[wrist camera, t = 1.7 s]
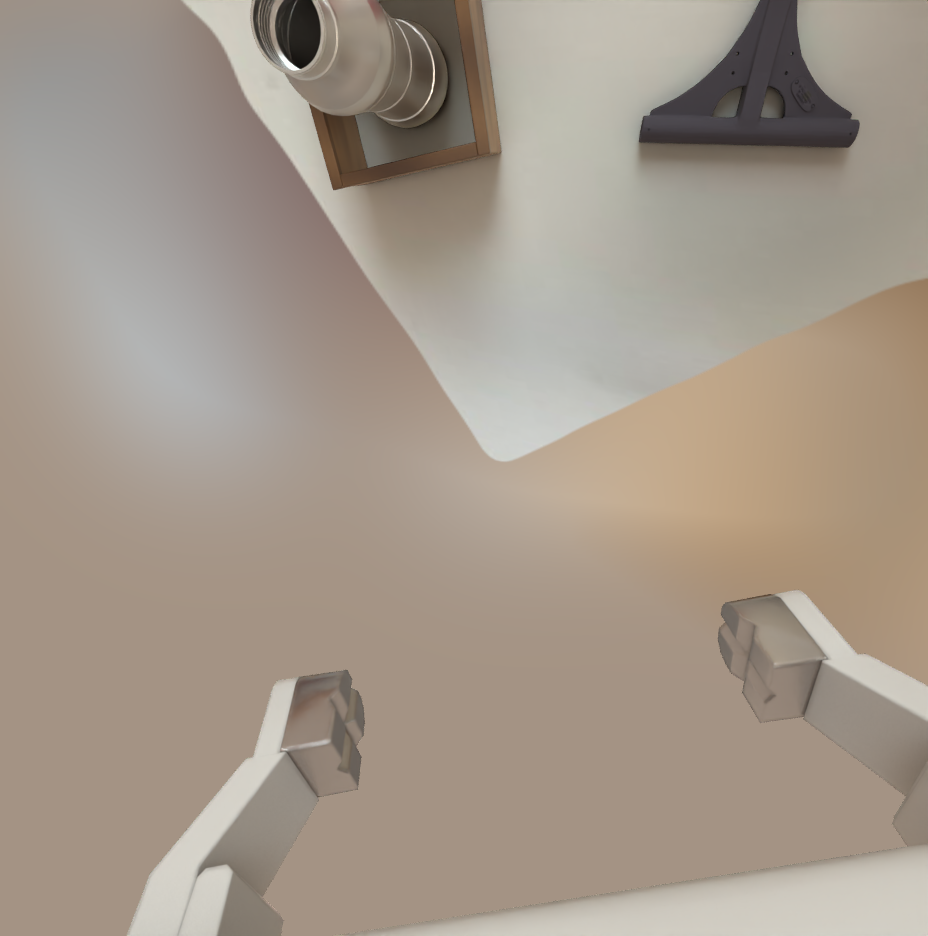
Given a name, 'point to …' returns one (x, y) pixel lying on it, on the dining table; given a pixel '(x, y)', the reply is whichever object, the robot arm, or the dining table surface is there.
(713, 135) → the squeegee
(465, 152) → the wooden box
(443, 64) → the metal bottle
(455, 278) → the dining table surface
